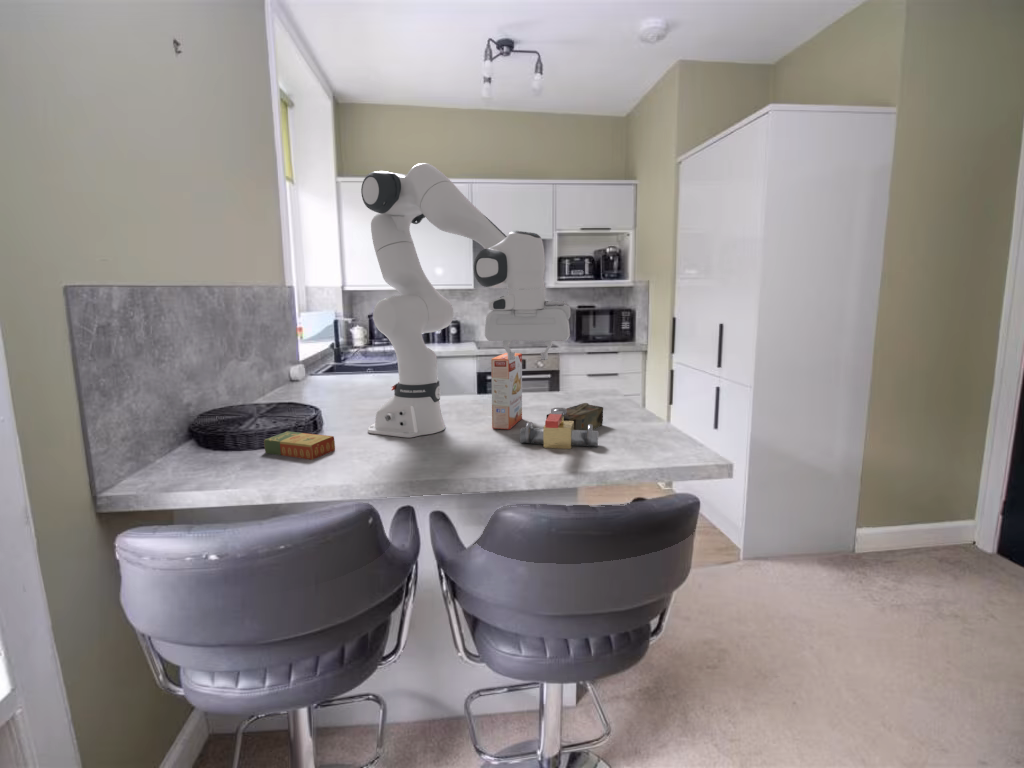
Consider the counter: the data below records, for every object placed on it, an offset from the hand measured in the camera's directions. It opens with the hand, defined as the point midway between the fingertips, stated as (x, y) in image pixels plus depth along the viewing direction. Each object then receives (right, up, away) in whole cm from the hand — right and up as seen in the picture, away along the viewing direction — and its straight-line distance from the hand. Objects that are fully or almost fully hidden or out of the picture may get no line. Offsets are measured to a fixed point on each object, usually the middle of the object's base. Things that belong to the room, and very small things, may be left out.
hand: (527, 359), depth 124 cm
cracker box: (-5, -18, +32) cm, 37 cm away
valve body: (+8, -22, +10) cm, 26 cm away
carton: (-59, -24, +9) cm, 64 cm away
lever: (+7, -15, +4) cm, 17 cm away
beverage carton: (+14, -20, +23) cm, 34 cm away
